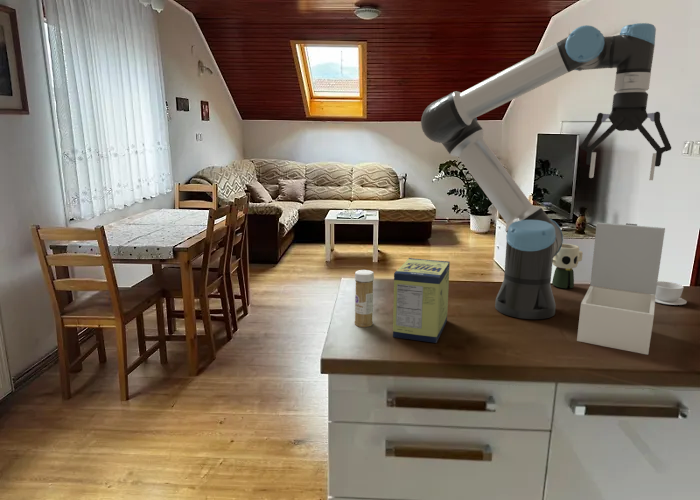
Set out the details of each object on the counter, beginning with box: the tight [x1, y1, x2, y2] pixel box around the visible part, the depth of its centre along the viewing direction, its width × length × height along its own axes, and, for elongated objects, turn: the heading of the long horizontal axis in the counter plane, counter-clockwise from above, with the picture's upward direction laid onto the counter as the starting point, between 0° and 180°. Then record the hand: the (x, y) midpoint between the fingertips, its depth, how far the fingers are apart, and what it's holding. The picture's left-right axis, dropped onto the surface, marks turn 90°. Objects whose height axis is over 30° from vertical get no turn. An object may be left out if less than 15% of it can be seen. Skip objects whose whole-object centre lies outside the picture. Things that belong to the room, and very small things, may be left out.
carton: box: [576, 286, 656, 355], centre depth 115 cm, size 14×16×9 cm
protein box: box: [392, 257, 451, 344], centre depth 119 cm, size 10×16×16 cm
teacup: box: [651, 280, 688, 306], centre depth 142 cm, size 10×10×5 cm
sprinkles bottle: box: [354, 269, 375, 328], centre depth 121 cm, size 5×5×13 cm
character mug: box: [551, 243, 584, 289], centre depth 153 cm, size 11×7×13 cm, turn 99°
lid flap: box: [589, 222, 666, 295], centre depth 122 cm, size 16×14×9 cm
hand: (620, 178), depth 128 cm, fingers open, 13 cm apart
